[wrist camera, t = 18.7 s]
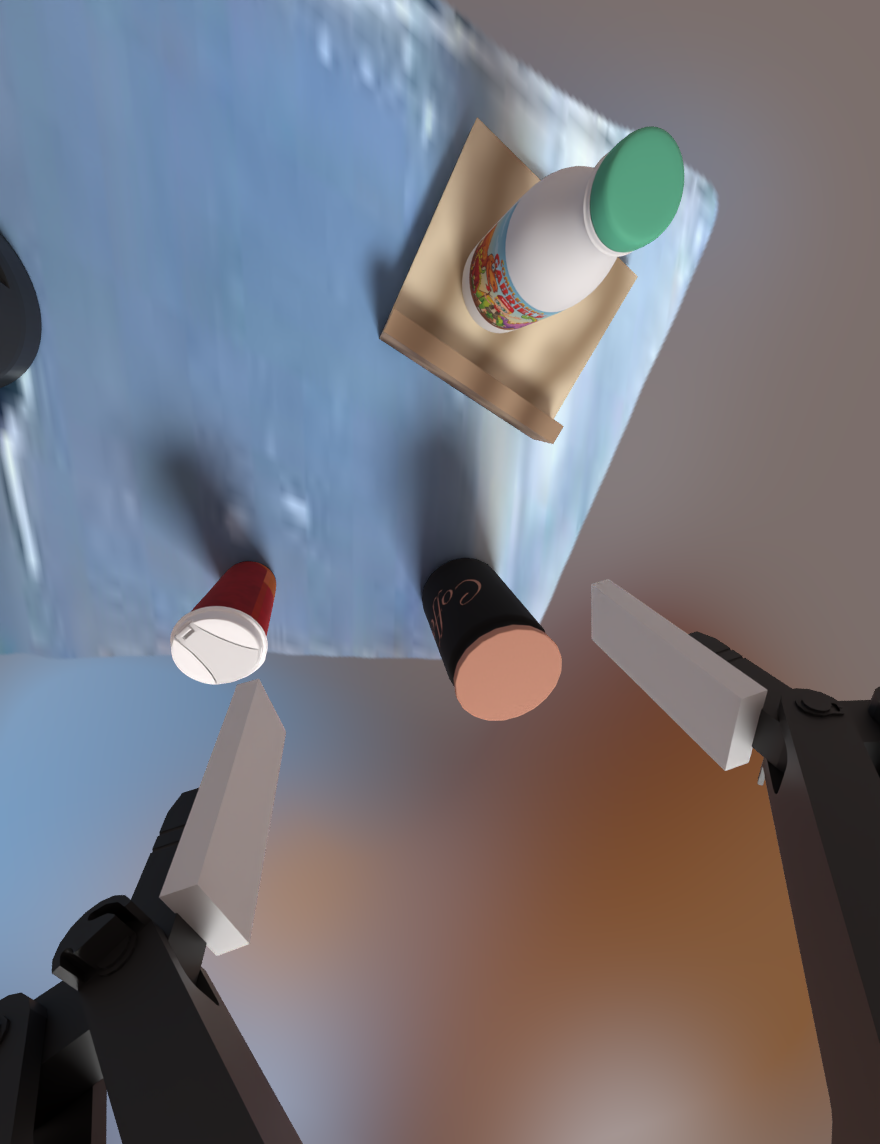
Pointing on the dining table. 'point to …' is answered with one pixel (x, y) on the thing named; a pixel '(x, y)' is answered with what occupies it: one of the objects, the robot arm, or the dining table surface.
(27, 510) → the dining table surface
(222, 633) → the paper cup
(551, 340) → the light wooden flat tray
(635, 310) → the dining table surface
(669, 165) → the milk bottle
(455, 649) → the coffee jar
